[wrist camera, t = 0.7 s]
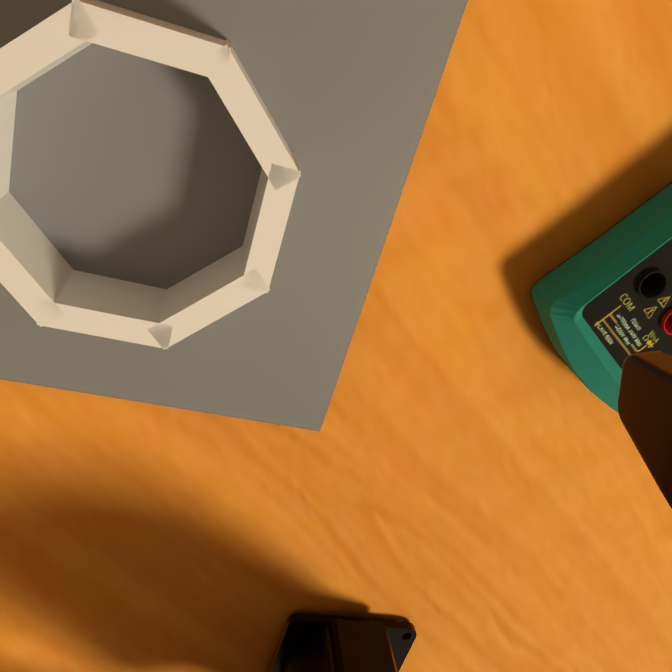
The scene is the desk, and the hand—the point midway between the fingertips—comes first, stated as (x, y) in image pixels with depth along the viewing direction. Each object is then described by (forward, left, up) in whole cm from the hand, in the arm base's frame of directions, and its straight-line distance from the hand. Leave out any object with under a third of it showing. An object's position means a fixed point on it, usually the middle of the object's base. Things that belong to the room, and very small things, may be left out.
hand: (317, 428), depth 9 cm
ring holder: (-1, +4, -14) cm, 14 cm away
